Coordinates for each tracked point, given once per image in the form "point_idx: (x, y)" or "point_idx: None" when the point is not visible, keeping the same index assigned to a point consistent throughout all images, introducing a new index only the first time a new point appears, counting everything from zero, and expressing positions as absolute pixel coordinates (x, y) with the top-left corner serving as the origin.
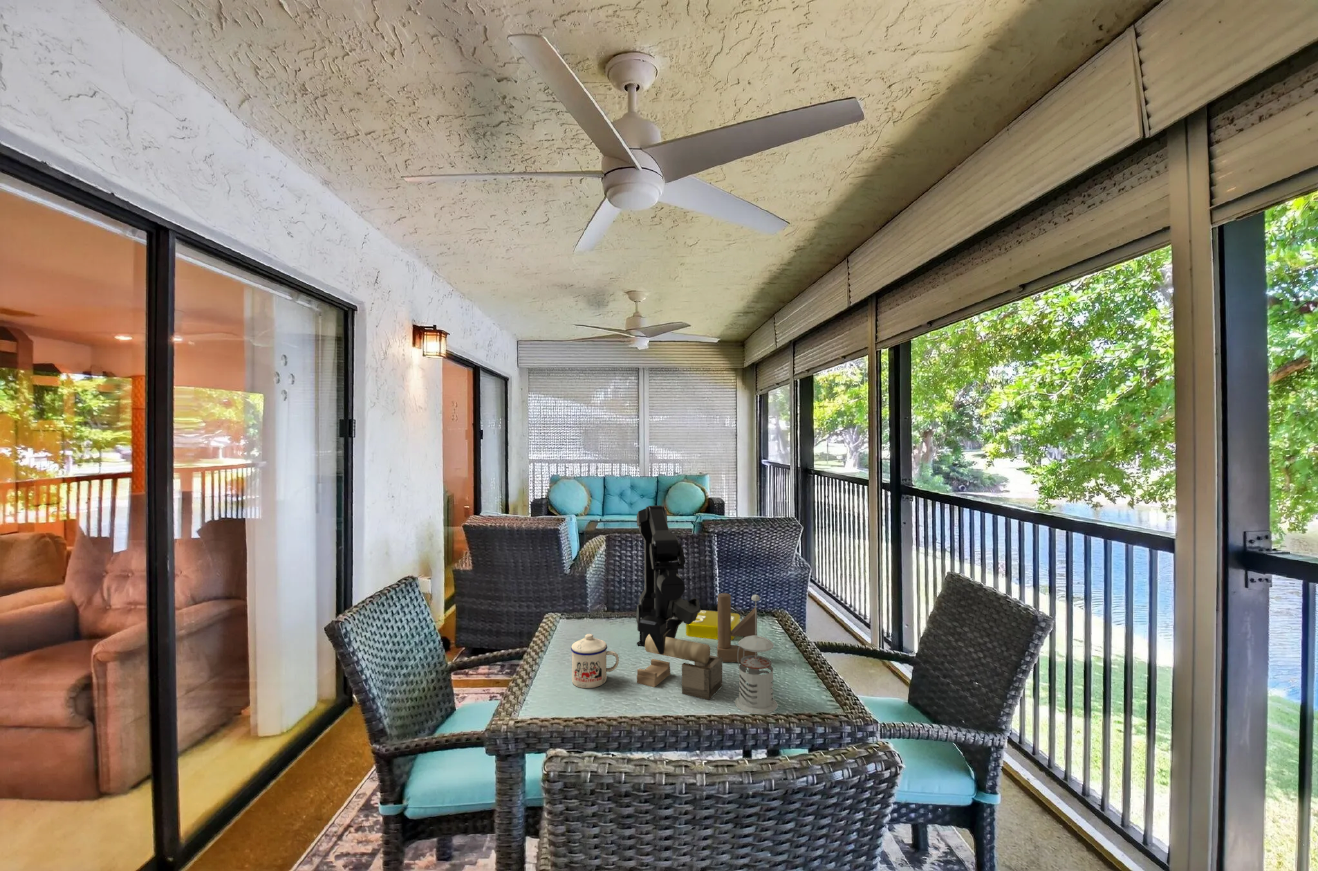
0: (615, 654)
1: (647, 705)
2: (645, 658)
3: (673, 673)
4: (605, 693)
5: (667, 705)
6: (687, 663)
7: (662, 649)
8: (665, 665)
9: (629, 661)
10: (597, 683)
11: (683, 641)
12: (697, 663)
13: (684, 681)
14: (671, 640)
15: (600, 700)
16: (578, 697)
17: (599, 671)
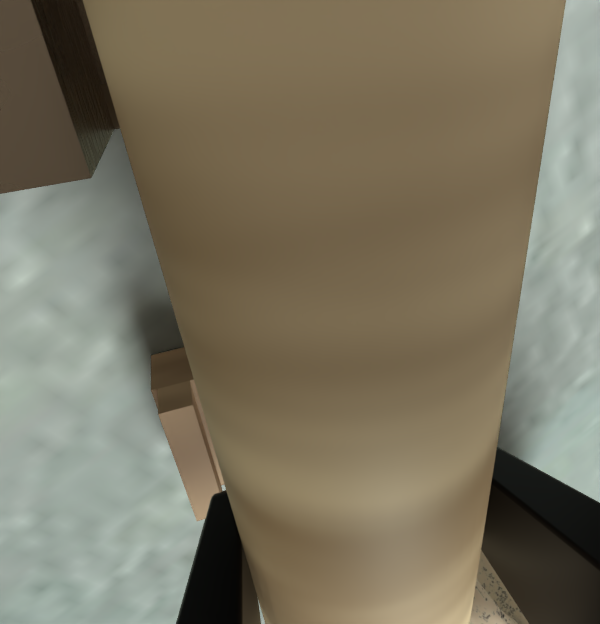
0: (492, 605)
1: (589, 176)
2: (77, 586)
3: (118, 350)
4: (530, 411)
5: (560, 64)
6: None
7: (508, 455)
8: (196, 409)
9: (179, 591)
10: None
11: (453, 356)
12: (90, 100)
13: None
14: (461, 526)
15: (593, 378)
16: (589, 446)
17: None
